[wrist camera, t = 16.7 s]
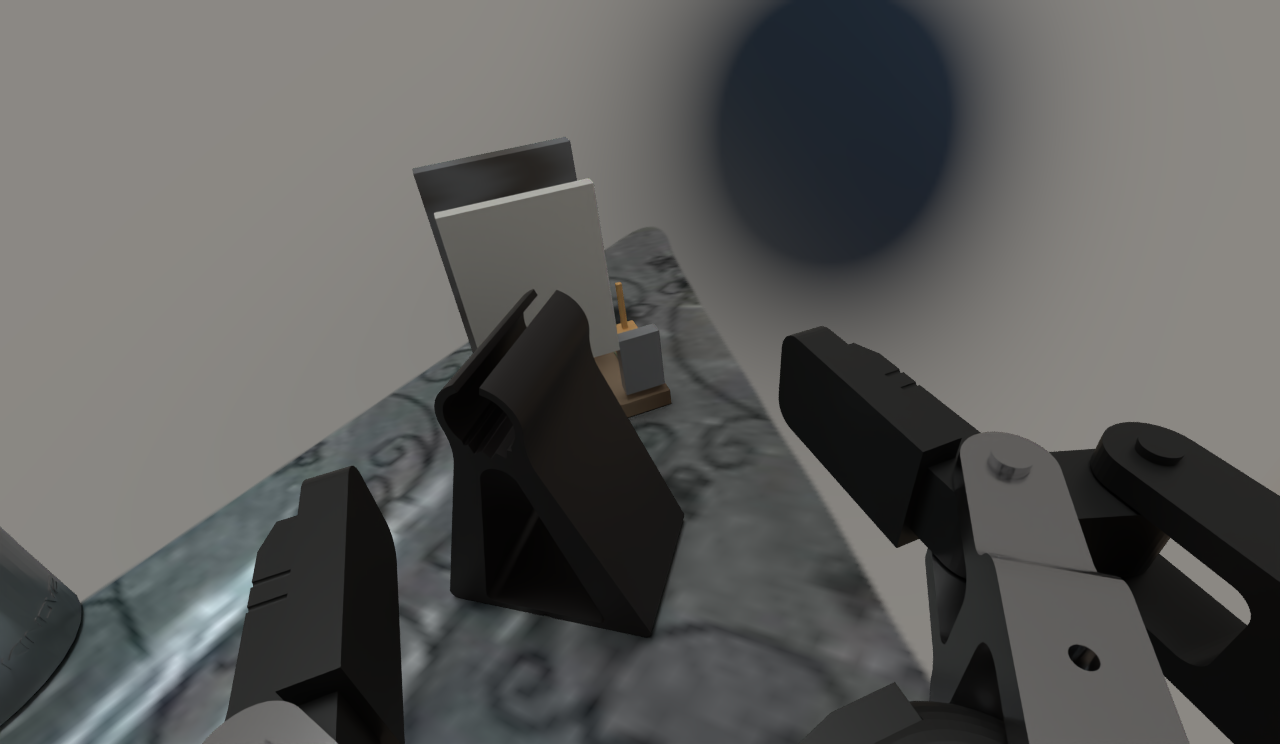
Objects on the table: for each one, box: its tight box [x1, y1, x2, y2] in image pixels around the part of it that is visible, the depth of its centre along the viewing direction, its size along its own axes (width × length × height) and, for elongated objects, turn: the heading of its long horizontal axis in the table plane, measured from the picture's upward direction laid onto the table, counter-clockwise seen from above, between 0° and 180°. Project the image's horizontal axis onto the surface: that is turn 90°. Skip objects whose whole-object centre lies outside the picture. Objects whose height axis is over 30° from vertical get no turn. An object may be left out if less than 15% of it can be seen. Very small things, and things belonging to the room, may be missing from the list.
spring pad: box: [434, 178, 665, 395], centre depth 30 cm, size 9×1×12 cm, turn 110°
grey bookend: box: [413, 137, 671, 417], centre depth 32 cm, size 12×7×14 cm, turn 110°
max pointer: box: [615, 282, 638, 353], centre depth 36 cm, size 1×1×5 cm
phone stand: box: [434, 289, 684, 637], centre depth 23 cm, size 9×6×12 cm, turn 73°
